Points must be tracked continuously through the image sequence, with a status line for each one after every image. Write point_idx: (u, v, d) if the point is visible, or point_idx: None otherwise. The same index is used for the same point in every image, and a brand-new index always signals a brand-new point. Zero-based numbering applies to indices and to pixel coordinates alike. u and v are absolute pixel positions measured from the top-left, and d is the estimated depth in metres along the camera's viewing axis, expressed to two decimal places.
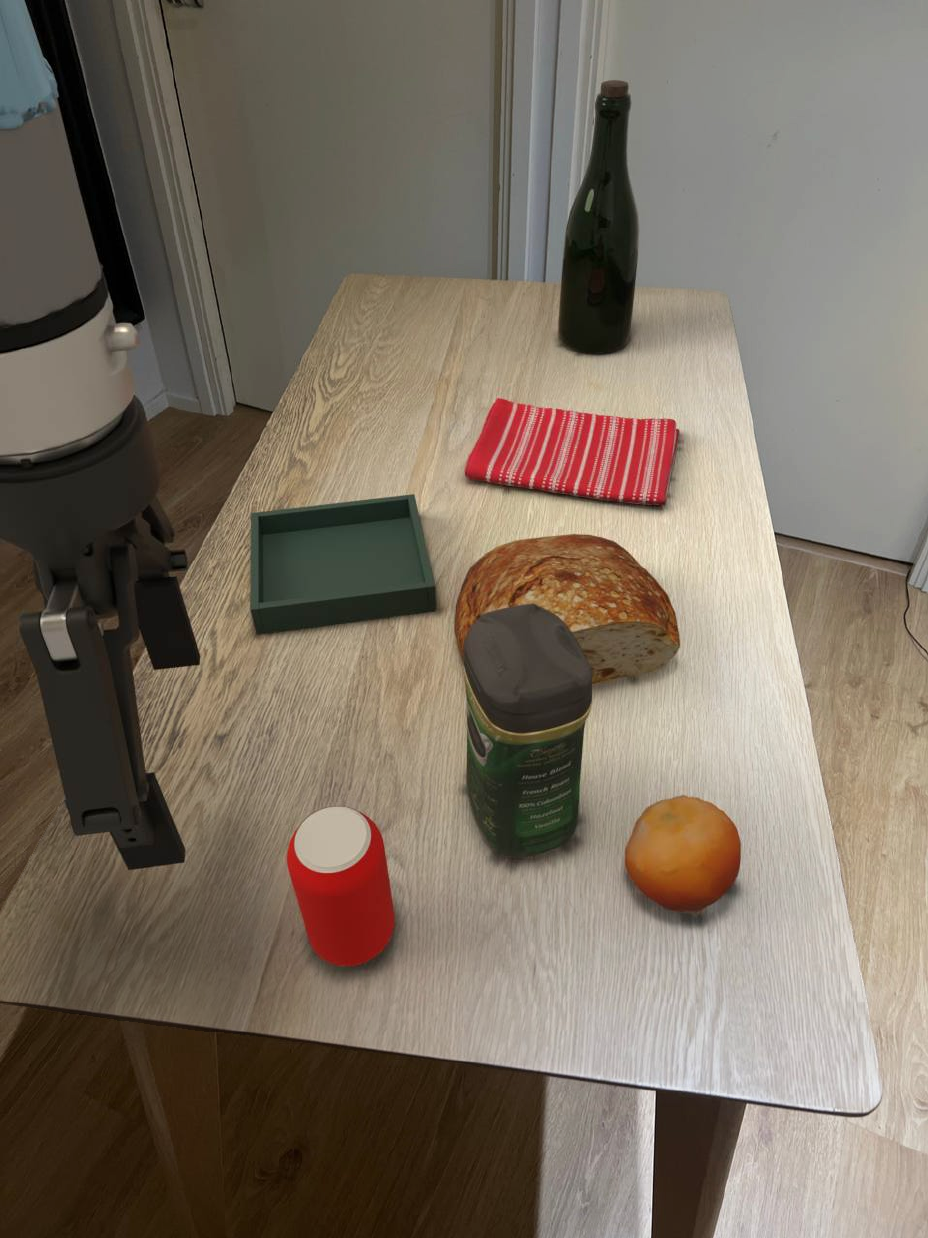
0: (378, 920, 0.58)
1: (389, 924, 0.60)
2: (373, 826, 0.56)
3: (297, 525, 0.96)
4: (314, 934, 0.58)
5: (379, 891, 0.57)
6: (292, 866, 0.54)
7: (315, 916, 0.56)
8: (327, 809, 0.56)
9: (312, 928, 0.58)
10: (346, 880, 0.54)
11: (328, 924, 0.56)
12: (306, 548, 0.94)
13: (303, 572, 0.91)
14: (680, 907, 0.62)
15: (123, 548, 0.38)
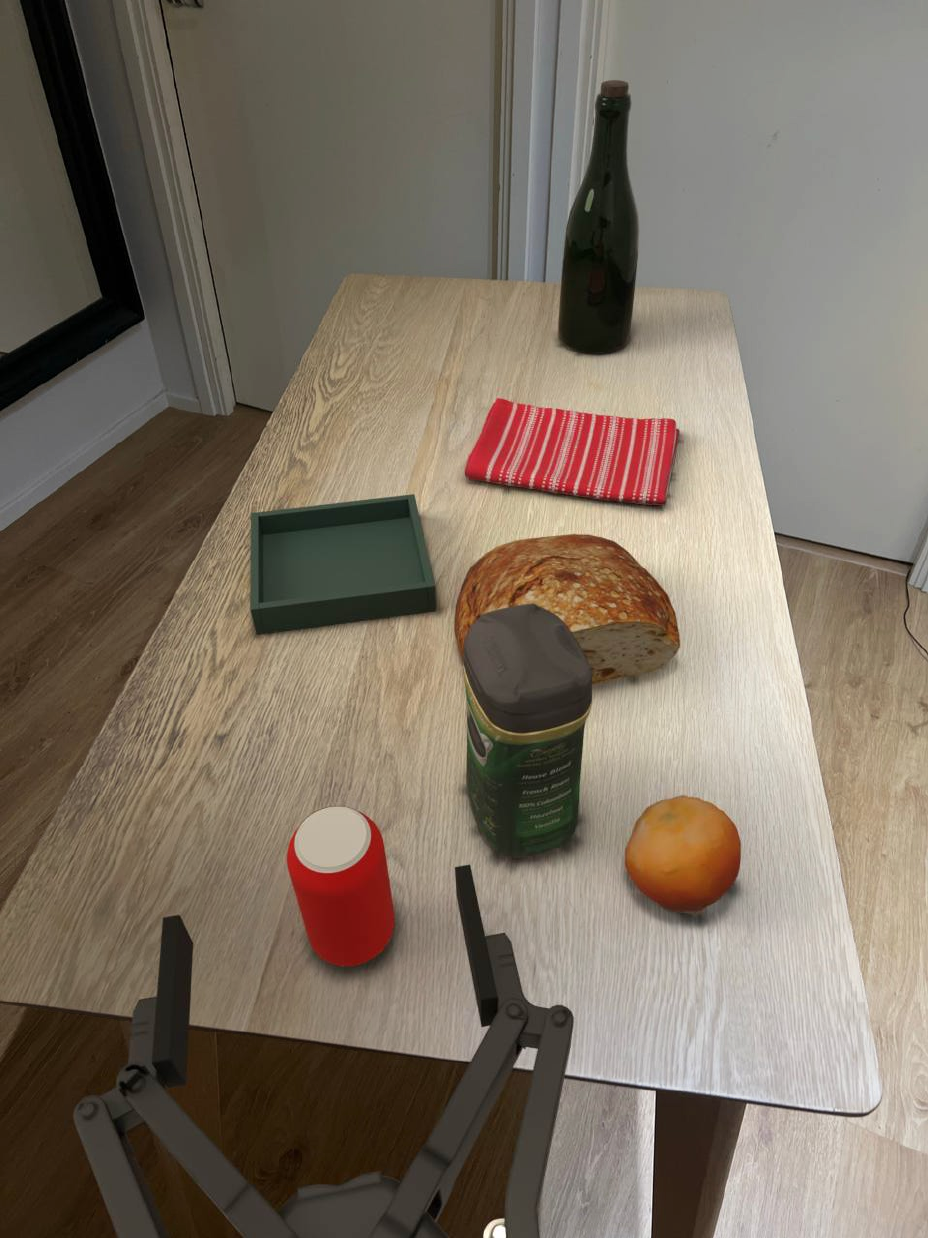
0: (378, 920, 0.58)
1: (389, 924, 0.60)
2: (373, 826, 0.56)
3: (297, 525, 0.96)
4: (314, 934, 0.58)
5: (379, 891, 0.57)
6: (292, 866, 0.54)
7: (315, 916, 0.56)
8: (327, 809, 0.56)
9: (312, 928, 0.58)
10: (346, 880, 0.54)
11: (328, 924, 0.56)
12: (306, 548, 0.94)
13: (303, 572, 0.91)
14: (680, 908, 0.62)
15: None
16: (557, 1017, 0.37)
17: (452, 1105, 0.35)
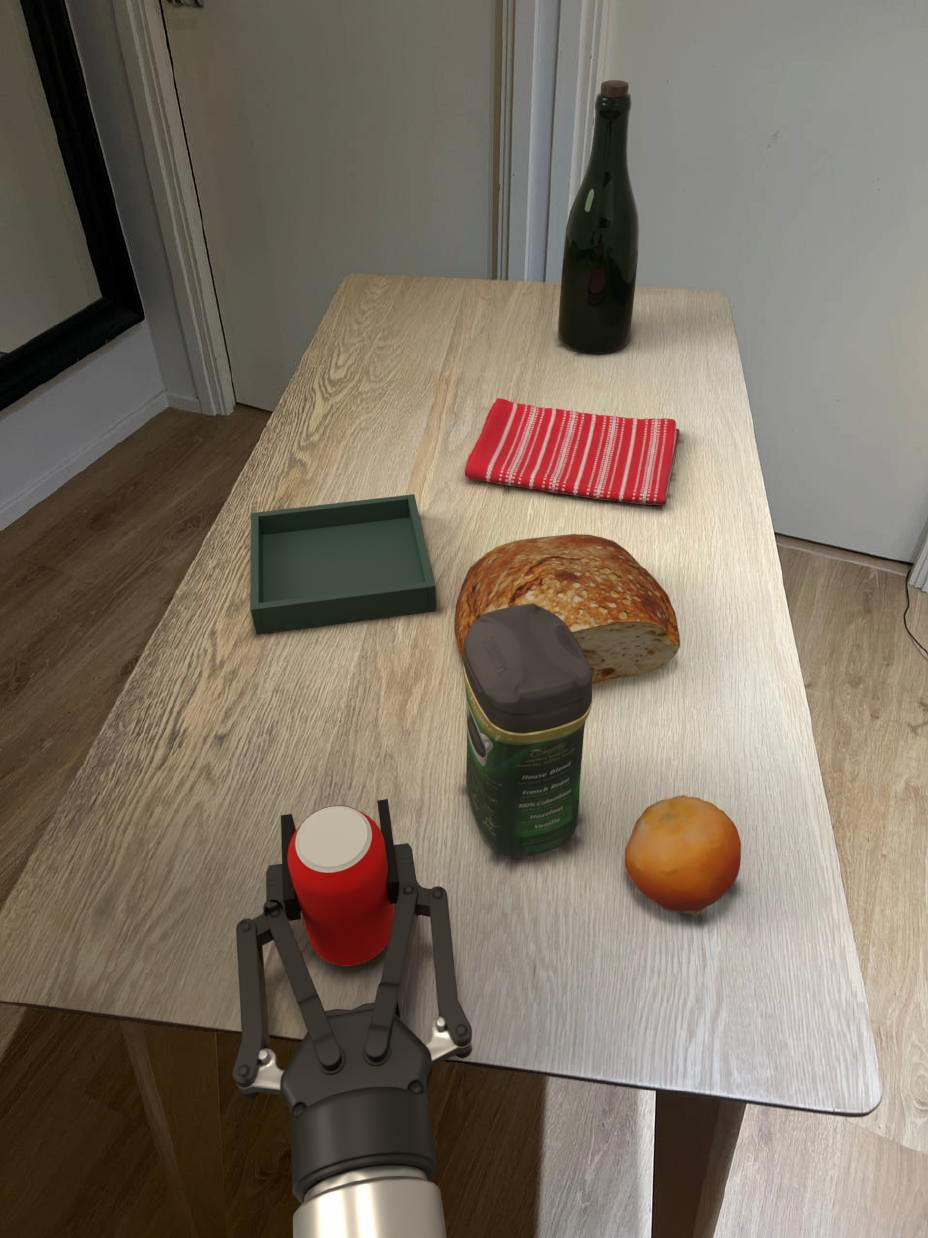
0: (378, 920, 0.58)
1: (389, 924, 0.60)
2: (374, 826, 0.56)
3: (297, 525, 0.96)
4: (314, 934, 0.58)
5: (380, 891, 0.57)
6: (293, 866, 0.54)
7: (316, 916, 0.56)
8: (328, 809, 0.56)
9: (312, 928, 0.58)
10: (347, 880, 0.54)
11: (328, 924, 0.56)
12: (306, 548, 0.94)
13: (303, 572, 0.91)
14: (680, 908, 0.62)
15: None
16: (436, 894, 0.56)
17: (389, 955, 0.54)
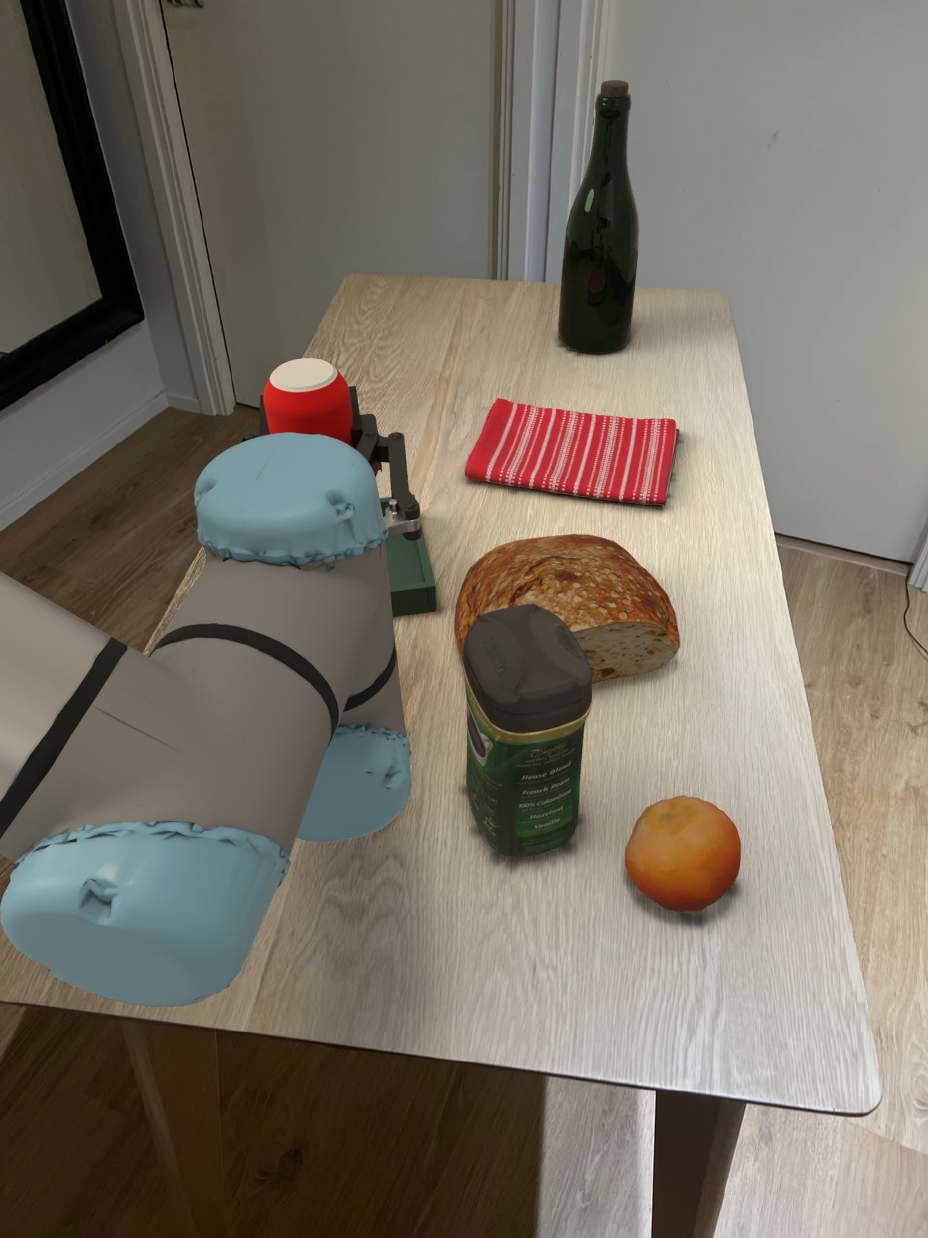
0: None
1: None
2: None
3: None
4: None
5: (345, 434, 0.64)
6: (268, 395, 0.62)
7: None
8: (299, 359, 0.64)
9: None
10: (314, 401, 0.61)
11: None
12: None
13: None
14: (680, 908, 0.62)
15: None
16: (394, 435, 0.64)
17: None
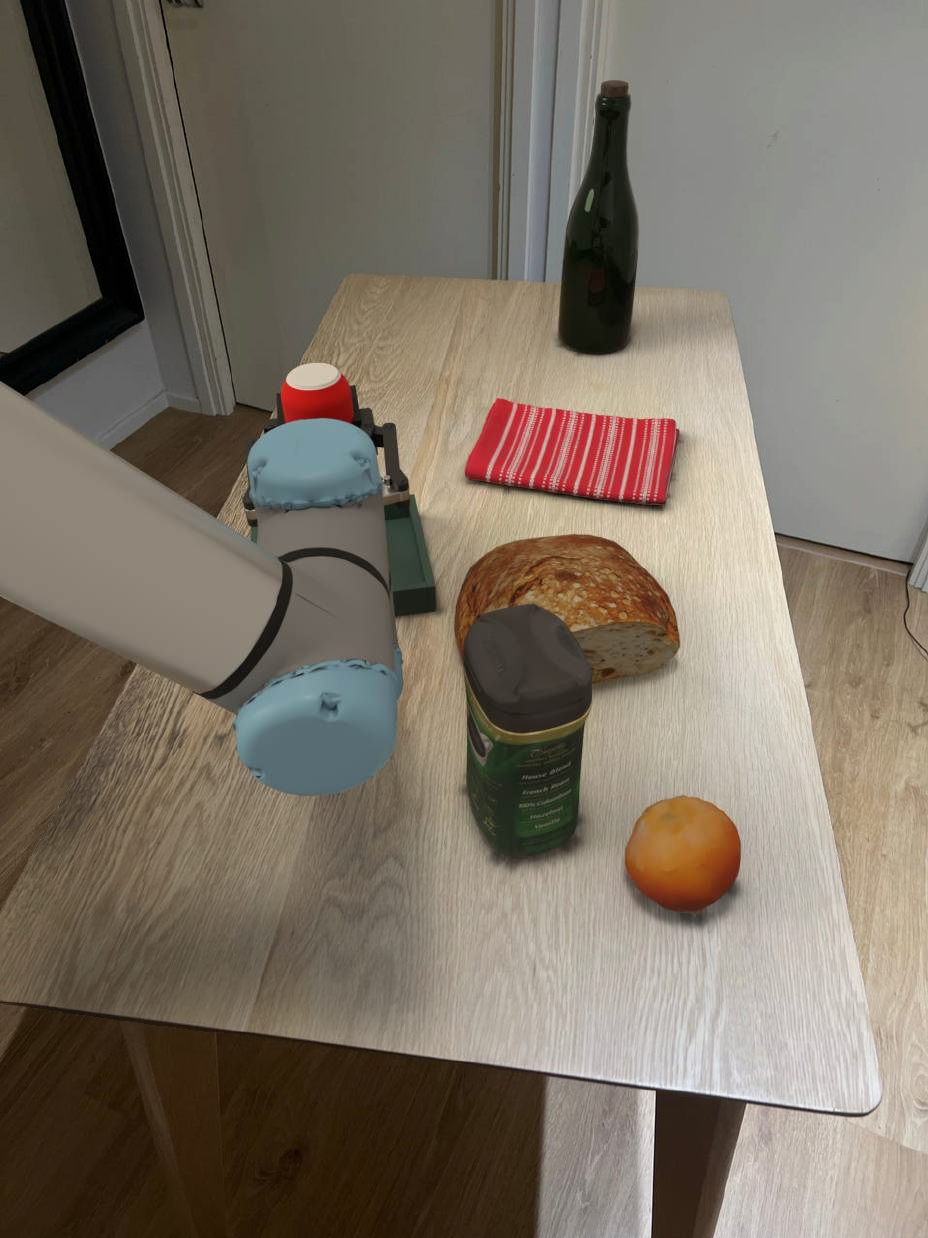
0: None
1: None
2: None
3: None
4: None
5: None
6: (285, 393, 0.76)
7: None
8: (309, 363, 0.78)
9: None
10: (323, 397, 0.76)
11: None
12: None
13: None
14: (680, 907, 0.62)
15: None
16: (387, 424, 0.78)
17: None
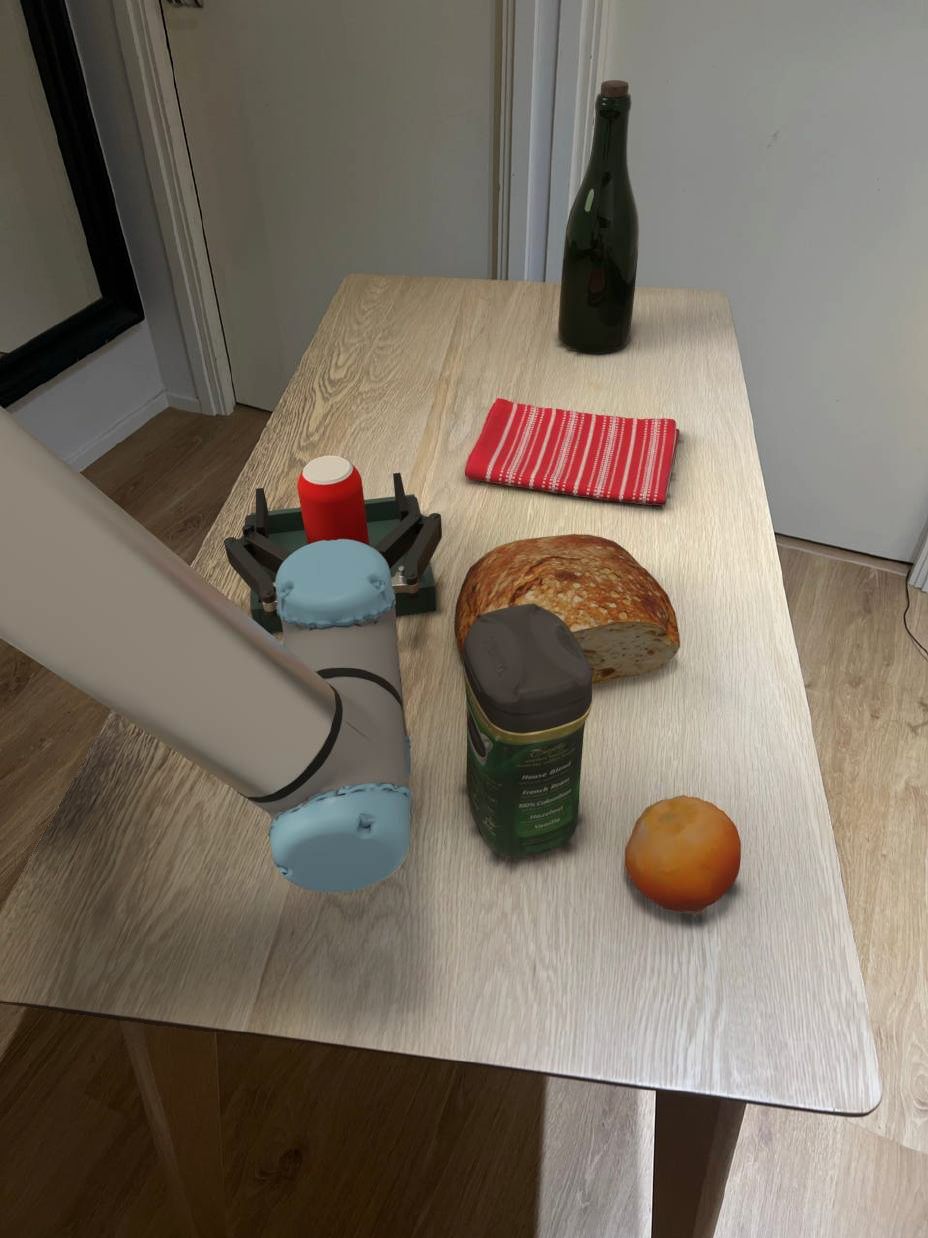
0: (358, 538, 0.87)
1: None
2: None
3: (297, 525, 0.96)
4: None
5: (359, 512, 0.85)
6: (301, 486, 0.83)
7: (316, 525, 0.85)
8: (324, 456, 0.85)
9: (314, 541, 0.86)
10: (336, 490, 0.82)
11: (324, 532, 0.85)
12: None
13: None
14: (680, 908, 0.62)
15: None
16: (433, 515, 0.84)
17: (385, 538, 0.81)
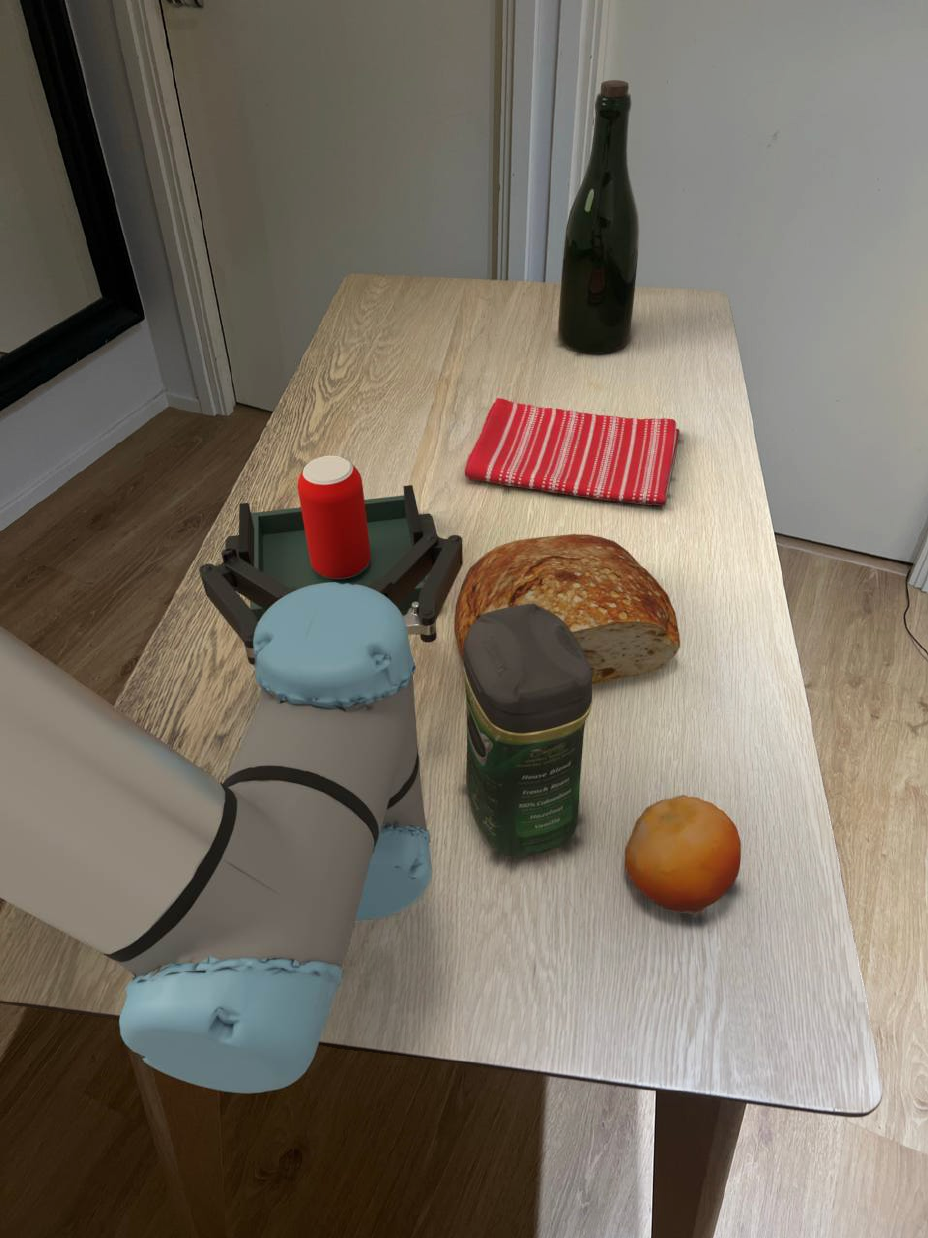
0: (358, 538, 0.87)
1: (366, 550, 0.89)
2: (354, 467, 0.85)
3: (297, 525, 0.96)
4: (315, 547, 0.87)
5: (359, 512, 0.85)
6: (301, 486, 0.83)
7: (316, 525, 0.85)
8: (324, 456, 0.85)
9: (314, 541, 0.86)
10: (337, 490, 0.82)
11: (324, 532, 0.85)
12: (306, 548, 0.94)
13: (303, 572, 0.91)
14: (680, 907, 0.62)
15: None
16: (453, 538, 0.69)
17: (395, 566, 0.67)
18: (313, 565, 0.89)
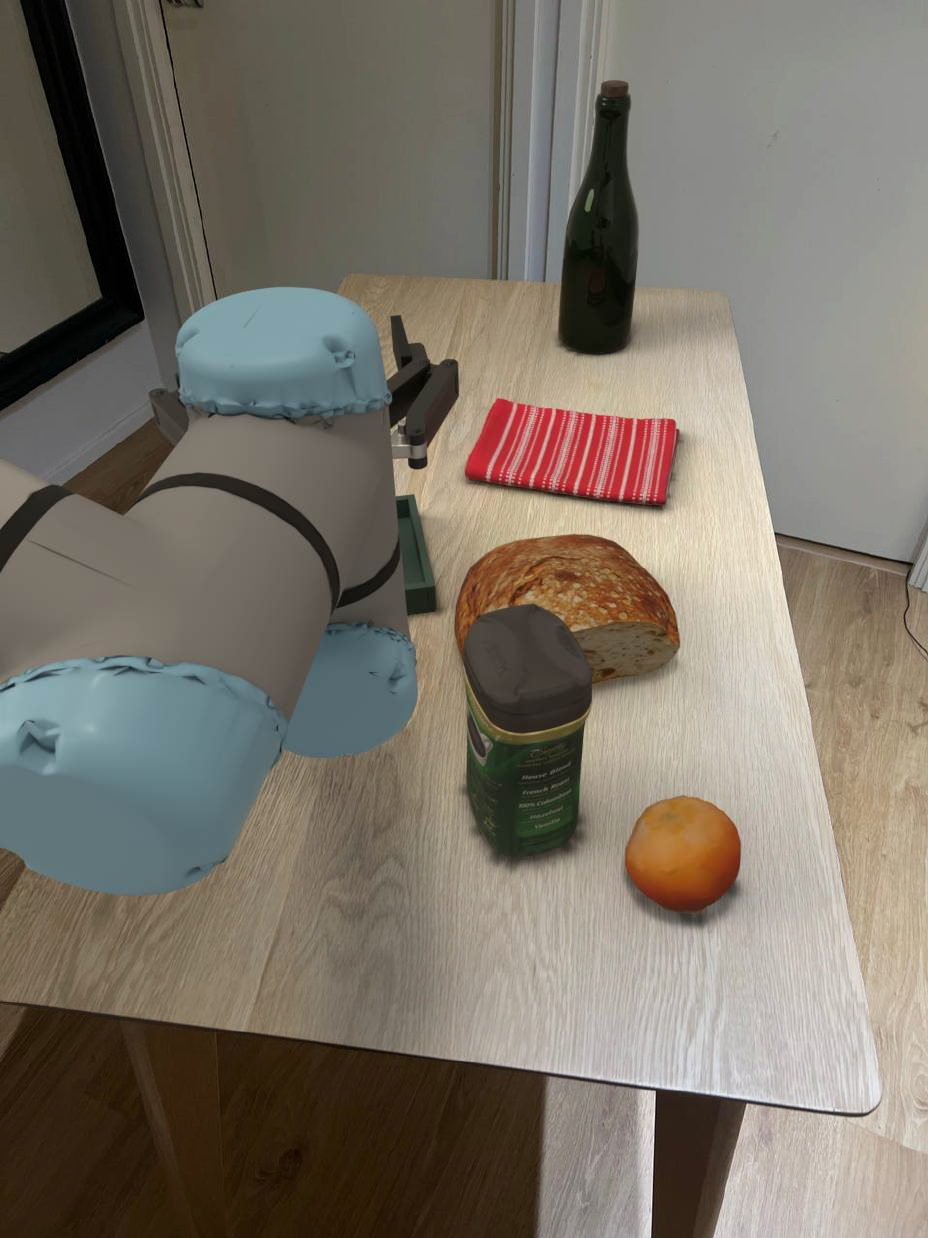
0: None
1: None
2: None
3: None
4: None
5: None
6: None
7: None
8: None
9: None
10: None
11: None
12: None
13: None
14: (680, 908, 0.62)
15: None
16: (447, 361, 0.59)
17: None
18: None
